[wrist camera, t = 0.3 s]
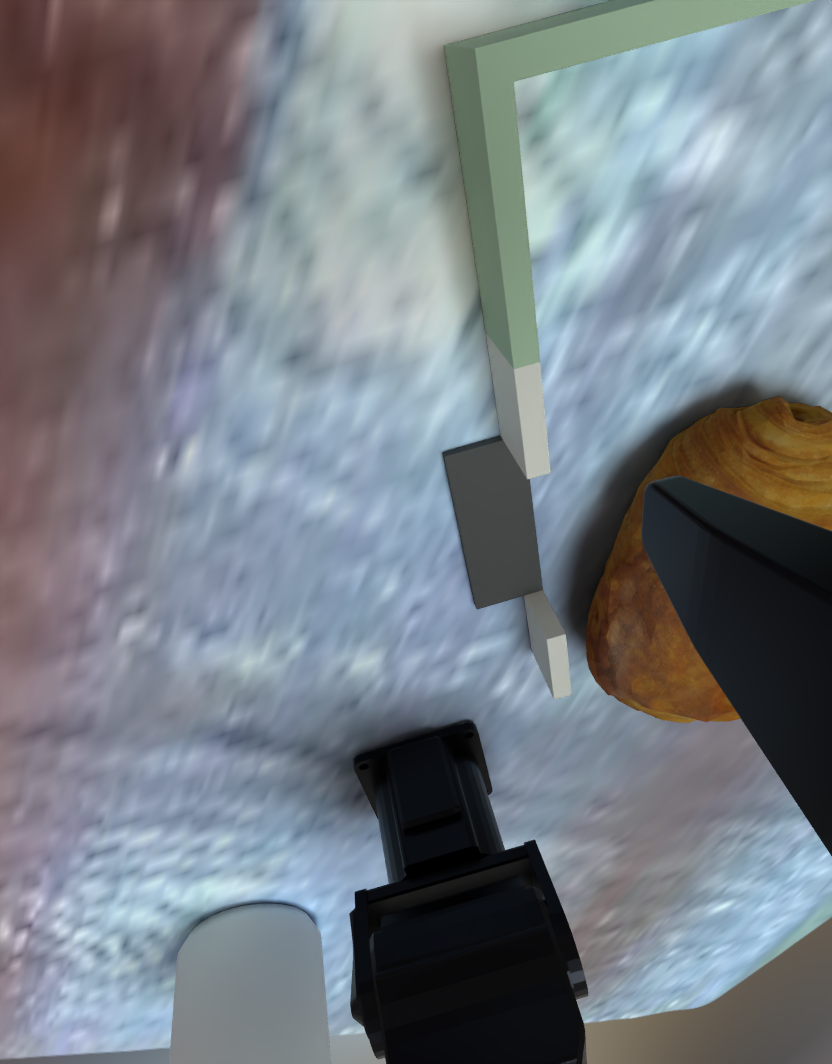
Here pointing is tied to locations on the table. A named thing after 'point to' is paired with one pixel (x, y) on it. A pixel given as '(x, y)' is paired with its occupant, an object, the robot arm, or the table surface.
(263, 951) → the white bottle
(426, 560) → the table surface
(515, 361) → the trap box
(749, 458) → the croissant
